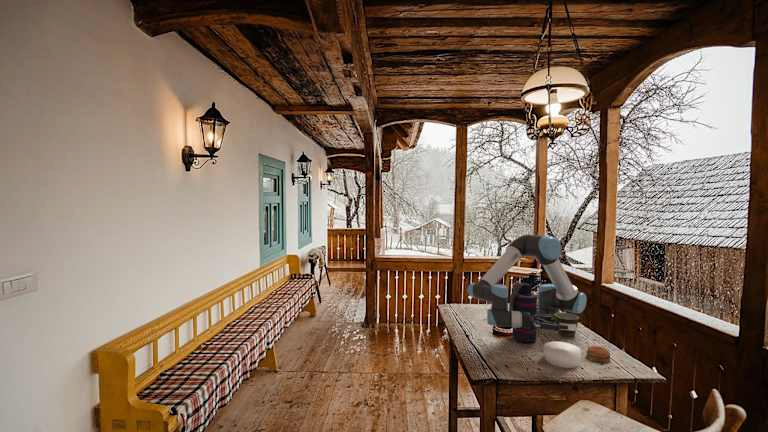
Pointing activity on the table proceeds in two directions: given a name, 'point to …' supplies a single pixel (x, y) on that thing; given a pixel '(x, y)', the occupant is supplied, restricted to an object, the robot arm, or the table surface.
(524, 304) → the grenade
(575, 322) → the ceramic cup
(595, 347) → the burger
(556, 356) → the plinth
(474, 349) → the table surface
